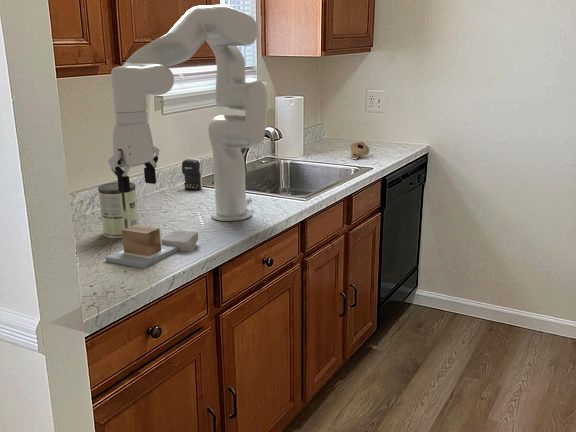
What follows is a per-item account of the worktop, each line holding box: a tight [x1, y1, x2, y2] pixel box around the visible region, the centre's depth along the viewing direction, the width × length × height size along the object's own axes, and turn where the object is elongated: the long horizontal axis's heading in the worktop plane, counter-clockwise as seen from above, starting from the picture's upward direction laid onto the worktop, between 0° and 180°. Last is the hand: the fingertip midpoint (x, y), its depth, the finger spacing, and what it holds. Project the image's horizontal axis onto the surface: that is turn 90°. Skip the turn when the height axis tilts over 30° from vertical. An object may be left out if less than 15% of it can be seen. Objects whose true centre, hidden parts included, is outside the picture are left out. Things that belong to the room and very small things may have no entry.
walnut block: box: [122, 224, 162, 256], centre depth 154 cm, size 5×8×6 cm, turn 63°
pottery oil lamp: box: [350, 141, 370, 159], centre depth 280 cm, size 9×12×7 cm
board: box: [105, 243, 179, 269], centre depth 155 cm, size 14×12×1 cm
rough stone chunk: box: [160, 229, 199, 253], centre depth 161 cm, size 10×6×6 cm, turn 59°
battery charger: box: [181, 158, 203, 191], centre depth 224 cm, size 7×4×11 cm, turn 67°
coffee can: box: [97, 181, 140, 239], centre depth 172 cm, size 10×10×14 cm
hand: (138, 187), depth 150 cm, fingers open, 9 cm apart
